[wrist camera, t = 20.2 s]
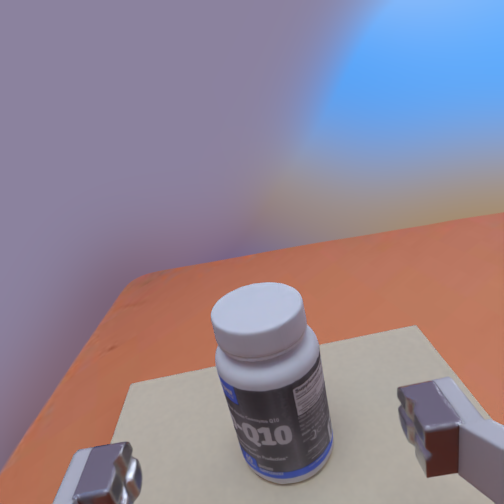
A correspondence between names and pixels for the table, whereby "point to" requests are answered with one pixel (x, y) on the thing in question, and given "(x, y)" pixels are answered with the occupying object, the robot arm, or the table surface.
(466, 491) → the cream mat
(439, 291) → the table surface
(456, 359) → the table surface
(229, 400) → the pill bottle
